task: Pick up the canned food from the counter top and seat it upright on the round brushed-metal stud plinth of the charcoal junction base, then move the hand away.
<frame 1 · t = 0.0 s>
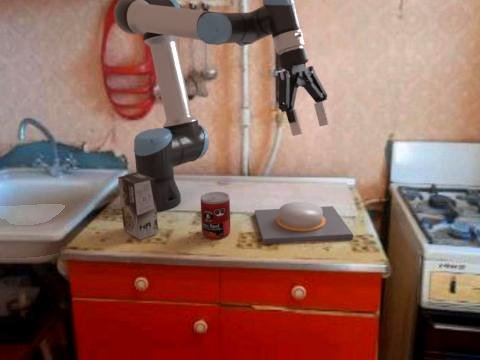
hand: (311, 130, 128), 28 cm above the counter, tool tilted 20°, fingers open, 13 cm apart
junction base: (300, 226, 137), on the counter
coffee box: (141, 232, 135), on the counter
canned food: (216, 234, 133), on the counter
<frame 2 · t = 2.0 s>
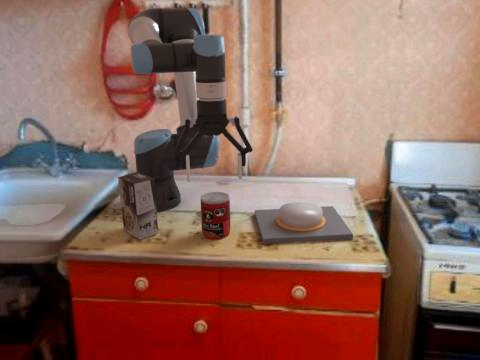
hand: (214, 179, 128), 16 cm above the counter, tool pointing down, fingers open, 13 cm apart
nothing on the counter moved.
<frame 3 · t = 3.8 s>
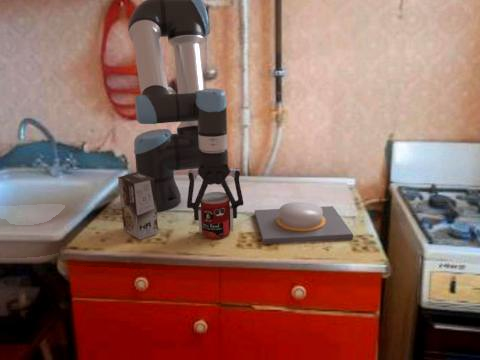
hand: (216, 229, 133), 1 cm above the counter, tool pointing down, fingers closed on canned food, 8 cm apart
canned food: (216, 234, 133), on the counter, touching gripper
everything else where it was.
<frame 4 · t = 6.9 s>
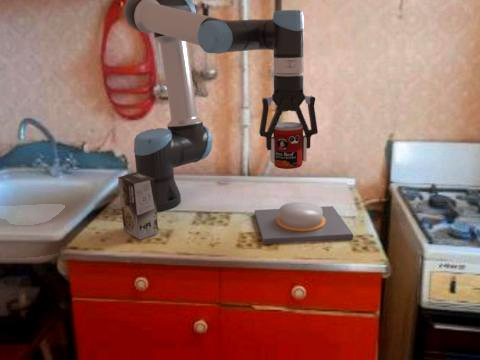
hand: (288, 160, 129), 20 cm above the counter, tool pointing down, fingers closed on canned food, 8 cm apart
canned food: (288, 165, 130), point 18 cm above the counter, touching gripper
everything else where it was.
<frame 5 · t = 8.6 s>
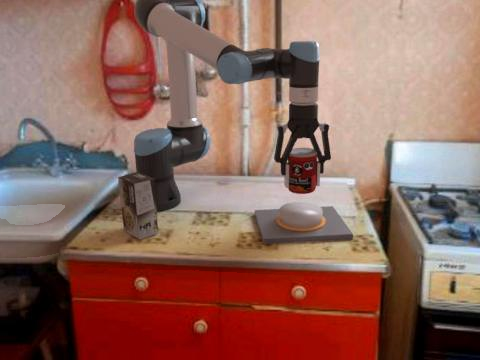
hand: (301, 185, 133), 12 cm above the counter, tool pointing down, fingers closed on canned food, 8 cm apart
canned food: (301, 190, 133), point 11 cm above the counter, touching gripper
everything else where it was.
when the fingers open (8 cm above the counter, at t = 9.9 s): canned food drops 1 cm, resting on junction base.
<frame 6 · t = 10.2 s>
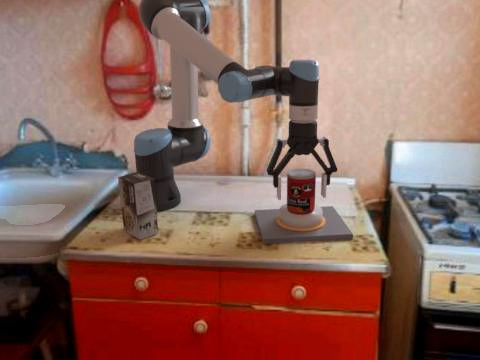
hand: (301, 197, 134), 9 cm above the counter, tool pointing down, fingers open, 12 cm apart
canned food: (300, 210, 135), point 5 cm above the counter, touching junction base
everything else where it was.
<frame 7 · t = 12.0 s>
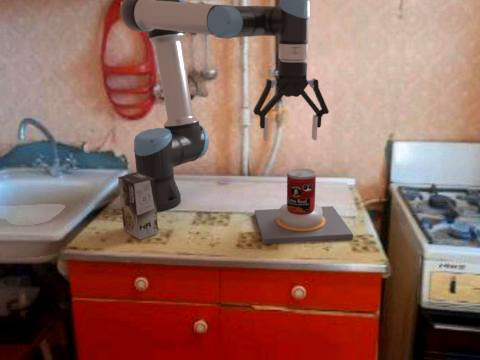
hand: (289, 139, 133), 24 cm above the counter, tool pointing down, fingers open, 13 cm apart
nothing on the counter moved.
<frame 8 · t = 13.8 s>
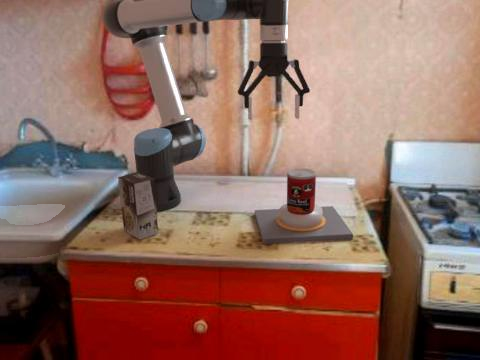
hand: (273, 118, 139), 29 cm above the counter, tool pointing down, fingers open, 13 cm apart
nothing on the counter moved.
at the end: canned food 0.1 cm off-centre on the junction base, point 4.8 cm above the junction base's base; canned food tilted 0°; the gripper is holding nothing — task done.
